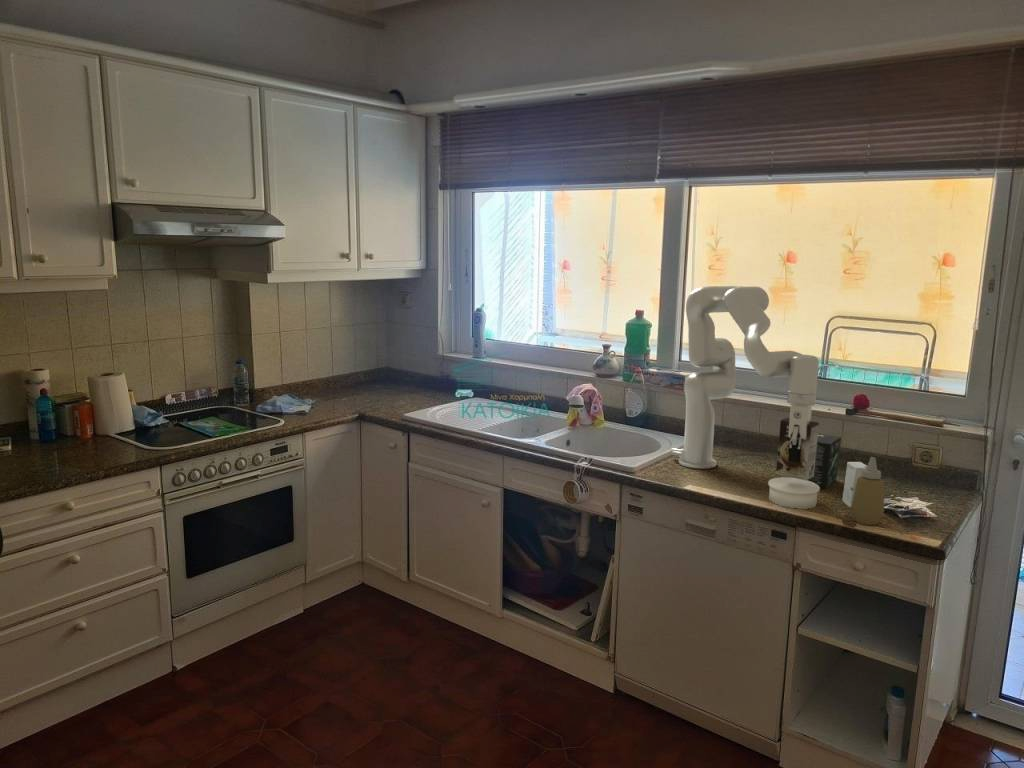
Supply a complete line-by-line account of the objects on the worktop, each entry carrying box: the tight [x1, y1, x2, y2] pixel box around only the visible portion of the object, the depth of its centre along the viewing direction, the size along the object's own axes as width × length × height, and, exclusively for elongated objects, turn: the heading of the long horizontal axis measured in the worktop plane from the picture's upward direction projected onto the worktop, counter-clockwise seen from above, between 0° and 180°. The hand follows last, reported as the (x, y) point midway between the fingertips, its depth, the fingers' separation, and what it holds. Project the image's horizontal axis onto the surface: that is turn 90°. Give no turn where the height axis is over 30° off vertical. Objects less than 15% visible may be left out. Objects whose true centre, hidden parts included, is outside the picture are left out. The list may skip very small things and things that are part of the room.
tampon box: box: [807, 432, 842, 490], centre depth 234 cm, size 11×9×15 cm
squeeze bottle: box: [850, 456, 885, 526], centre depth 200 cm, size 8×8×18 cm
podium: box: [767, 476, 821, 510], centre depth 217 cm, size 14×14×5 cm
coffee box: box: [775, 416, 820, 480], centre depth 214 cm, size 9×6×16 cm
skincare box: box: [842, 461, 868, 508], centre depth 214 cm, size 6×4×12 cm
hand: (796, 458), depth 215 cm, fingers closed on coffee box, 7 cm apart
